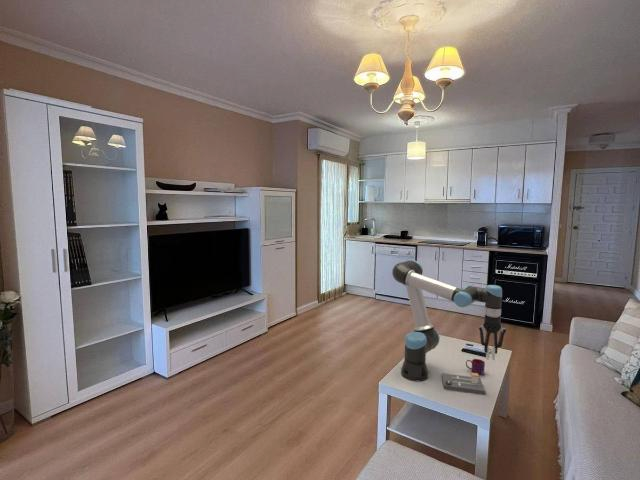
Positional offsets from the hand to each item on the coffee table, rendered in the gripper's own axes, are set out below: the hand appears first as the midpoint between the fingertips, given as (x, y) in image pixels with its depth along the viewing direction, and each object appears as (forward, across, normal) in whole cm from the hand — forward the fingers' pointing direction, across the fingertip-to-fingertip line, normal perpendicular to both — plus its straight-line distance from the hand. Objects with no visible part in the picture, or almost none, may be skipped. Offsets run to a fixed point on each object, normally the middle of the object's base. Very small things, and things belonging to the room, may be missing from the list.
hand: (490, 358), depth 183 cm
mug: (+17, -4, +18) cm, 25 cm away
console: (+16, -13, 0) cm, 21 cm away
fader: (+14, -7, 0) cm, 16 cm away
